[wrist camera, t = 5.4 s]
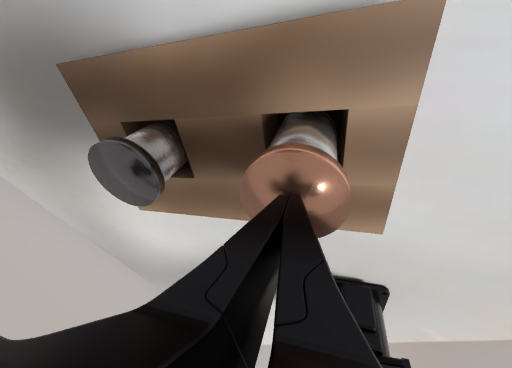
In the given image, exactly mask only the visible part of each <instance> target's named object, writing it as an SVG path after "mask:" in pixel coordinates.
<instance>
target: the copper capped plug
mask: <svg viewBox="0 0 512 368" xmlns="http://www.w3.org/2000/svg"><path fill="white" fill-rule="evenodd" d="M239 194H240V200H241V203H242V205H243V208H244V210H245V211H246V213H247V214H248V215H249V217H250V218H251V219H252V218H254V217H255V216H256V215H257V214H258V213H259V212H260V211H261V210H263V209H264V208H265V207H266V206H267V205H268V204H269V203H270V202H271V201H273V200H274V199H275V198H276V197H277V196H278V195H280V194H286V195H290V196H291V195H300V196H301V197H302V200H303V202H304V205H305V207H306V210H307V213H308V215H309V218H310V220H311V223H312V225H313V228H314V230H315V233H316V236H317V238H320V237H323V236H326V235H328V234H330V233H332V232H334V231H335V230H337V229H338V228H339V227H340V226H341V225H342V224H343V223H344V222H345V220H346V219H347V217H348V215H349V212H350V208H351V194H350V186H349V180H348V177H347V174H346V172H345V170H344V169H343V167H342V166H341V165H340V163H339V162H338V161H337V141H336V128H335V125H334V122H333V120H332V119H331V117H330V116H329V115H328V114H326V113H325V112H324V111H307V112H291V113H289V114H288V115H287V116H286V117H285V118H284V120H283V121H282V123H281V125H280V127H279V129H278V131H277V133H276V135H275V137H274V139H273V141H272V143H271V144H270V146H269V148H268V149H266V150H264V151H262V152H261V153H259V154H258V155H257V156H256V157H255V158H254V159H253V161H252V162H251V163H250V165H249V167H248V168H247V170H246V172H245V173H244V175H243V177H242V180H241V182H240V188H239Z"/></svg>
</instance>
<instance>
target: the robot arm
mask: <svg viewBox="0 0 512 368" xmlns="http://www.w3.org/2000/svg"><path fill="white" fill-rule="evenodd" d="M277 283H278V285H277ZM276 287H277V297H276V308H275V320H274V332H273V341H272V349H271V356H270V360H269V365H268V368H411V366H410V362H409V359H405V358H402V359H397V358H391V357H390V353H389V347H388V341H387V336H386V330H385V325H384V319H383V314H382V313H383V311H384V308H385V305H386V303H387V300H388V297H389V295H390V293H389V289H387V288H385V287H379V286H373V285H367V284H361V283H355V282H349V281H343V280H337V279H334V278H333V276H332V273H331V271H330V268H329V266H328V263H327V261H326V259H325V256H324V253H323V251H322V248H321V246H320V243H319V241H318V238H317V236H316V233H315V230H314V228H313V225H312V223H311V220H310V218H309V215H308V213H307V210H306V207H305V205H304V202H303V200H302V197H301V196H300V195H291V196H290V195H286V194H280V195H278V196H277V197H276V198H275V199H274V200H273V201H271V202H270V203H269V204H268V205H267V206H266V207H265V208H264V209H263V210H261V211H260V212H259V213H258V214H257V215H256V216H255V217H254V218H252V219H251V220H250V221H249V222H248V223H247V224H246V225H245V226H244V227H242V228H241V229H240V230H239V231H238V232H237V233H236V234H235V235H233V236H232V237H231V238H230V239H229V240H228V241H227V242H226V243H225V244H224V246H221V247H220V248H219V249H218V250H217V251H215V252H214V253H213V254H212V255H211V256H210V257H208V258H207V259H206V260H205V261H204V262H202V263H201V264H200V265H199V266H197V267H196V268H195V269H193V270H192V271H191V272H190V273H188V274H187V275H185V276H184V277H183V278H181V279H180V280H179V281H177V282H176V283H175V284H173V285H172V286H171V287H169V288H168V289H167V290H165V291H164V292H162V293H161V294H160V295H158V296H157V297H156V298H154V299H153V300H151V301H150V302H148V303H147V304H145V305H143V306H141V307H139V308H137V309H134V310H132V311H129V312H125V313H122V314H118V315H115V316H112V317H108V318H104V319H101V320H97V321H94V322H90V323H87V324H83V325H80V326H77V327H72V328H69V329H65V330H62V331H58V332H55V333H51V334H48V335H44V336H40V337H36V338H30V339H24V340H9V339H7V338H4V337H2V336H0V368H255V364H256V361H257V357H258V353H259V349H260V346H261V342H262V339H263V335H264V331H265V327H266V324H267V320H268V316H269V313H270V309H271V305H272V301H273V298H274V294H275V290H276Z"/></svg>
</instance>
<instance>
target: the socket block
mask: <svg viewBox="0 0 512 368" xmlns="http://www.w3.org/2000/svg"><path fill="white" fill-rule="evenodd" d="M445 3H446V0H400V1H394V2H389V3H383V4H378V5H373V6H367V7H362V8H357V9H351V10H346V11H340V12H335V13H330V14H324V15H319V16H313V17H308V18H303V19H297V20H292V21H287V22H281V23H276V24H270V25H265V26H260V27H254V28H249V29H243V30H238V31H233V32H227V33H222V34H217V35H211V36H206V37H200V38H195V39H190V40H184V41H179V42H173V43H168V44H163V45H157V46H152V47H147V48H141V49H136V50H130V51H125V52H120V53H114V54H109V55H103V56H98V57H93V58H87V59H82V60H77V61H71V62H66V63H60V64H56V65H57V67H58V69H59V71H60V72H61V74H62V76H63V77H64V79H65V81H66V83H67V84H68V86H69V88H70V90H71V91H72V93H73V95H74V96H75V98H76V100H77V102H78V103H79V105H80V107H81V109H82V110H83V112H84V114H85V116H86V117H87V119H88V121H89V122H90V124H91V126H92V128H93V129H94V131H95V133H96V135H97V136H98V138H99V140H100V141H103V140H105V139H107V138H109V137H122V138H125V137H127V136H129V135H131V134H133V133H134V132H136V131H138V130H140V129H142V128H144V127H146V126H147V125H149V124H151V123H153V122H155V121H157V120H168V119H174V120H175V123H176V126H177V129H178V132H179V134H180V137H181V140H182V143H183V146H184V149H185V151H186V154H187V157H188V161H187V162H186V163H185V164H184V165H183V166H182V167H180V168H179V169H178V170H177V171H176V172H175V173H174V174H173V175H172V176H171V177H170V178H169V179H168V180H167V181H165V188H164V191H163V193H162V194H161V195H160V196H159V197H158V198H157V199H156V200H155V201H154V202H153V203H152V204H150V205H148V206H143V207H142V206H138V207H139V209H140V210H146V211H156V212H166V213H176V214H186V215H196V216H206V217H216V218H226V219H236V220H246V221H250V220H251V218H250V217H249V215H248V214H247V213H246V211H245V210H244V208H243V205H242V203H241V200H240V194H239V188H240V182H241V180H242V177H243V175H244V173H245V172H246V170H247V168H248V167H249V165H250V163H251V162H252V161H253V159H254V158H255V157H256V156H257V155H258V154H259V153H261V152H262V151H264V150H266V149H268V148H269V146H270V144H271V143H272V141H273V139H274V137H275V135H276V133H277V131H278V118H277V113H290V112H307V111H324V110H342V109H343V116H342V128H341V139H340V151H339V154H337V161H338V162H339V163H340V165H341V166H342V167H343V169H344V170H345V172H346V174H347V177H348V180H349V186H350V194H351V208H350V212H349V215H348V217H347V219H346V220H345V222H344V223H343V224H342V225H341V226H340V227H339V228H338V229H337V230H346V231H356V232H366V233H376V234H383V231H384V227H385V224H386V220H387V216H388V213H389V209H390V205H391V202H392V198H393V194H394V191H395V187H396V183H397V180H398V176H399V172H400V169H401V165H402V161H403V158H404V154H405V150H406V147H407V143H408V139H409V136H410V132H411V128H412V125H413V121H414V117H415V114H416V110H417V106H418V102H419V99H420V95H421V91H422V88H423V84H424V80H425V77H426V73H427V69H428V66H429V62H430V58H431V55H432V51H433V47H434V44H435V40H436V36H437V33H438V29H439V25H440V22H441V18H442V14H443V11H444V7H445Z"/></svg>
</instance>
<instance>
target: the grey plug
mask: <svg viewBox="0 0 512 368" xmlns="http://www.w3.org/2000/svg"><path fill="white" fill-rule="evenodd" d="M88 161H89V165H90V168H91V170H92V172H93V174H94V175H95V177H96V178H97V180H98V181H99V182H100V183H101V185H102V186H103V187H104V188H105V189H106V190H107V191H109V192H110V193H111V194H112V195H114V196H115V197H117V198H118V199H120V200H122V201H123V202H126V203H128V204H131V205H134V206H142V207H143V206H148V205H150V204H152V203H153V202H154V201H155V200H156V199H157V198H158V197H159V196H160V195H161V194H162V193H163V191H164V188H165V181H167V180H168V179H169V178H170V177H171V176H172V175H173V174H174V173H175V172H176V171H177V170H178V169H179V168H180V167H182V166H183V165H184V164H185V163H186V162H187V161H188V157H187V154H186V151H185V149H184V146H183V143H182V140H181V137H180V134H179V132H178V129H177V126H176V123H175V120H174V119H168V120H157V121H155V122H153V123H151V124H149V125H147V126H146V127H144V128H142V129H140V130H138V131H136V132H134V133H133V134H131V135H129V136H127V137H125V138H122V137H109V138H107V139H105V140H103V141H101V142H99V143H97V144H95V145H93V146H92V147H91V148H90V150H89V153H88Z"/></svg>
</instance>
